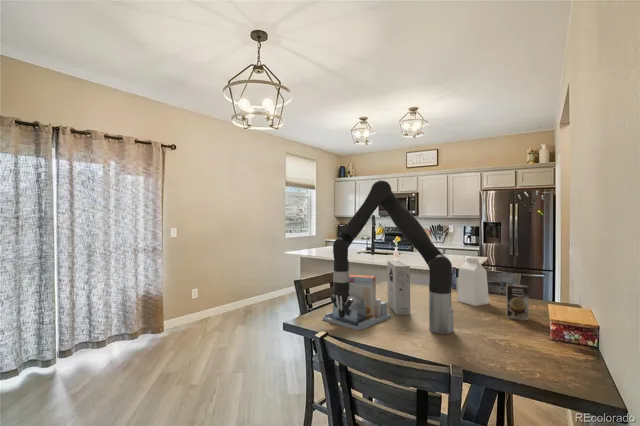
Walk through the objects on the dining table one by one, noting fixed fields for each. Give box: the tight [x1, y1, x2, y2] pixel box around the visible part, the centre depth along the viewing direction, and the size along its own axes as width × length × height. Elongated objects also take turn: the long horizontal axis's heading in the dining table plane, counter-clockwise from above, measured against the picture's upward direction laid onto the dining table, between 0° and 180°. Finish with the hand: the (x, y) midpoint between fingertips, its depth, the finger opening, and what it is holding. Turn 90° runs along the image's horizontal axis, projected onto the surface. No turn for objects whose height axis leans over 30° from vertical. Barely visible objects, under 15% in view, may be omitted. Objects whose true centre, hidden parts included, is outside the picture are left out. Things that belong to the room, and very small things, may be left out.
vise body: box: [322, 298, 392, 332], centre depth 157 cm, size 22×26×9 cm
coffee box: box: [506, 283, 530, 321], centre depth 157 cm, size 9×6×16 cm
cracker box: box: [349, 274, 377, 320], centre depth 159 cm, size 14×6×21 cm, turn 65°
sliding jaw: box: [332, 296, 366, 326], centre depth 153 cm, size 19×7×11 cm, turn 46°
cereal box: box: [386, 259, 411, 315], centre depth 174 cm, size 22×8×25 cm, turn 179°
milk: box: [456, 256, 490, 307], centre depth 186 cm, size 12×12×26 cm
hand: (341, 317), depth 149 cm, fingers closed
